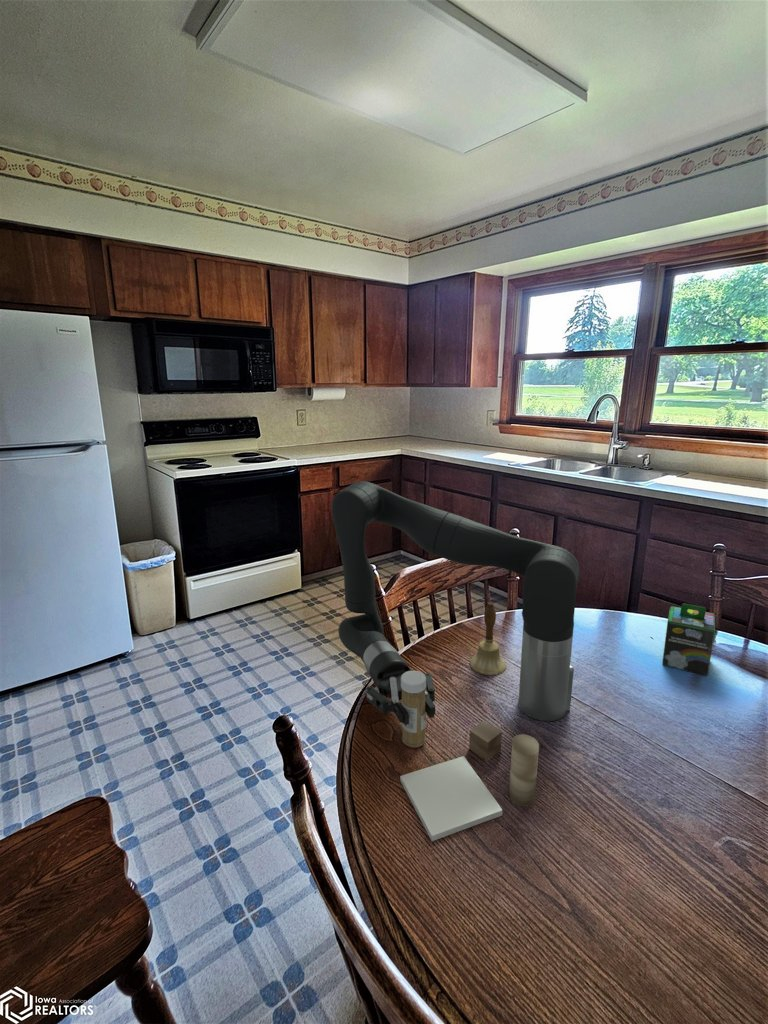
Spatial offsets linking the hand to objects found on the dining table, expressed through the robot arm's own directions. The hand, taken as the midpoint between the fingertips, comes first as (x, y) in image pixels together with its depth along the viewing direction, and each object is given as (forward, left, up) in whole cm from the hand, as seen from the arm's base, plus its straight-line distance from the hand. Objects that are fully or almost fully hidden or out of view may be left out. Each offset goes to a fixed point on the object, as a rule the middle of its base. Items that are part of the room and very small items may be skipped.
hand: (419, 716), depth 88 cm
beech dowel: (-11, +15, -7) cm, 20 cm away
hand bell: (-26, -19, -7) cm, 33 cm away
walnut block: (-11, +4, -7) cm, 14 cm away
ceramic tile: (0, +11, -7) cm, 13 cm away
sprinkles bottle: (0, -3, -7) cm, 8 cm away
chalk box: (-69, -3, -7) cm, 69 cm away
